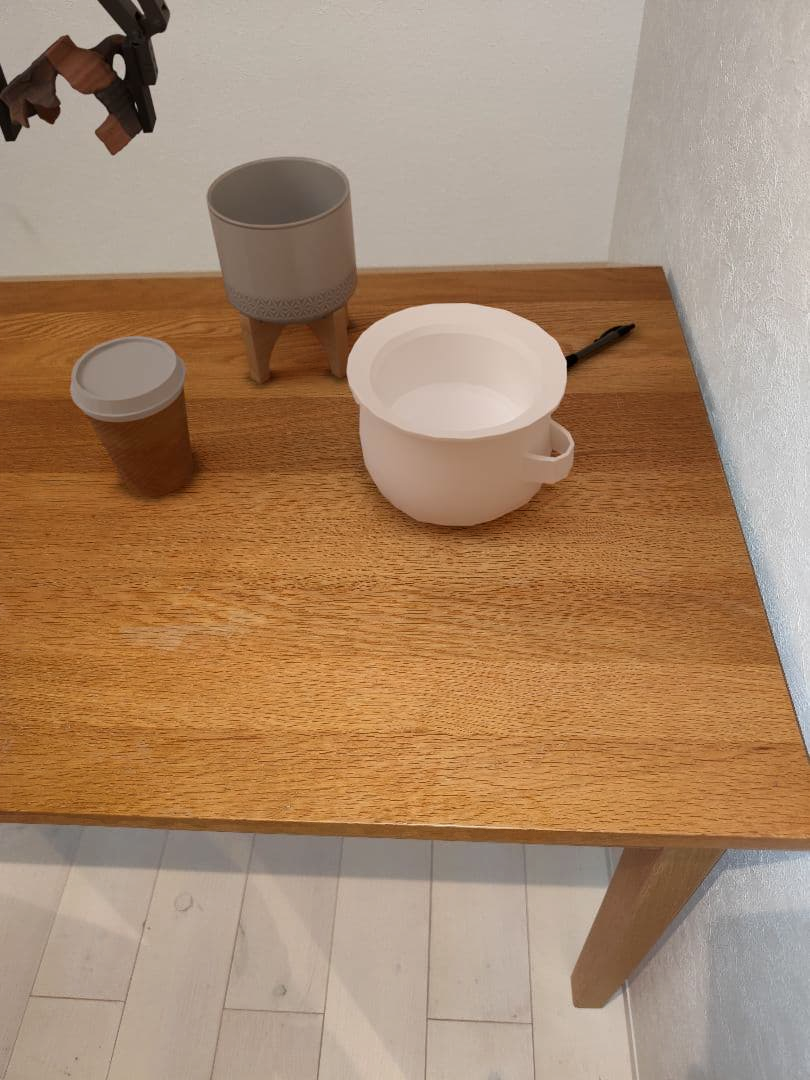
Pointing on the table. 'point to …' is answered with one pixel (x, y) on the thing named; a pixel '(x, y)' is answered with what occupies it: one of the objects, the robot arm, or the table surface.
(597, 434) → the table surface
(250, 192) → the planter
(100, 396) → the disposable coffee cup
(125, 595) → the table surface
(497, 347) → the pot
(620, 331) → the pen
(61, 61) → the pottery mug
